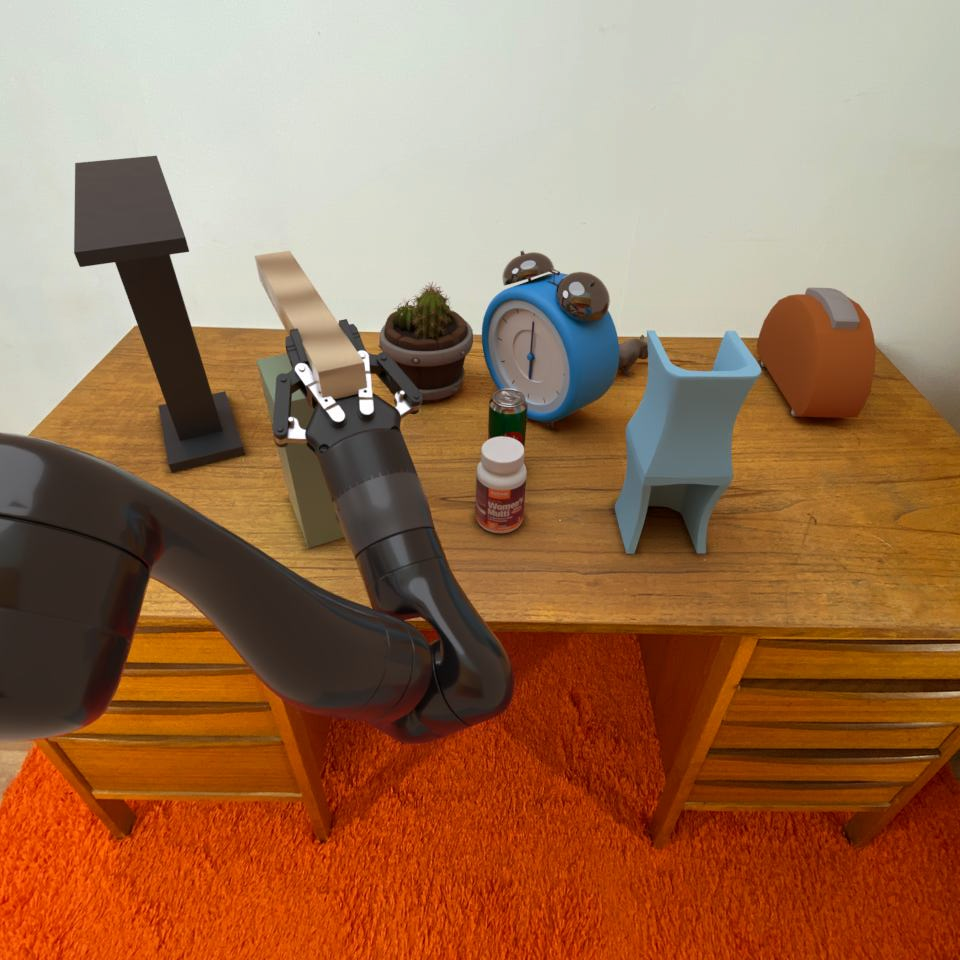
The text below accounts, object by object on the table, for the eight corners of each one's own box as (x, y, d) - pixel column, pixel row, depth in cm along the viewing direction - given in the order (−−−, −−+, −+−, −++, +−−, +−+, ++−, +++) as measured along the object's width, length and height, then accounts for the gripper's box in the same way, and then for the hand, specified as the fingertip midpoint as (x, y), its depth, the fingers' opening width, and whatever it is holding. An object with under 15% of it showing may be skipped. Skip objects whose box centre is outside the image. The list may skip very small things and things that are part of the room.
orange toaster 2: (854, 431, 98) (902, 332, 88) (796, 429, 99) (837, 330, 88) (799, 355, 116) (834, 265, 106) (750, 354, 116) (779, 264, 106)
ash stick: (368, 392, 56) (364, 361, 54) (323, 402, 55) (318, 371, 53) (294, 275, 75) (289, 250, 73) (259, 281, 74) (254, 255, 72)
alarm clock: (478, 391, 106) (480, 250, 91) (520, 371, 111) (529, 235, 95) (568, 448, 94) (588, 298, 79) (611, 424, 99) (637, 278, 84)
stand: (257, 492, 86) (185, 237, 64) (178, 513, 82) (73, 252, 60) (219, 372, 109) (156, 155, 87) (156, 385, 106) (74, 162, 84)
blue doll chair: (684, 499, 86) (735, 329, 70) (706, 553, 78) (768, 377, 62) (611, 500, 86) (646, 329, 69) (626, 554, 78) (668, 376, 62)
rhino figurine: (660, 365, 113) (667, 334, 109) (601, 387, 107) (606, 356, 103) (643, 356, 115) (649, 325, 112) (585, 376, 110) (590, 345, 106)
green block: (386, 524, 81) (370, 383, 68) (308, 548, 78) (274, 404, 64) (362, 478, 88) (343, 341, 75) (289, 499, 85) (255, 359, 71)
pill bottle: (487, 540, 79) (489, 470, 72) (468, 509, 84) (468, 440, 76) (531, 527, 81) (537, 458, 74) (511, 497, 86) (515, 429, 78)
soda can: (496, 454, 93) (499, 383, 85) (528, 463, 91) (534, 392, 83) (481, 473, 89) (482, 401, 82) (514, 484, 88) (518, 412, 80)
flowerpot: (377, 371, 110) (365, 257, 97) (463, 361, 113) (463, 249, 100) (389, 418, 99) (377, 297, 86) (484, 406, 102) (486, 286, 89)
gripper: (463, 456, 53) (395, 289, 58) (292, 504, 48) (233, 319, 53) (447, 488, 60) (387, 337, 65) (296, 533, 55) (243, 366, 60)
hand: (318, 330), depth 59 cm, fingers closed on ash stick, 4 cm apart
